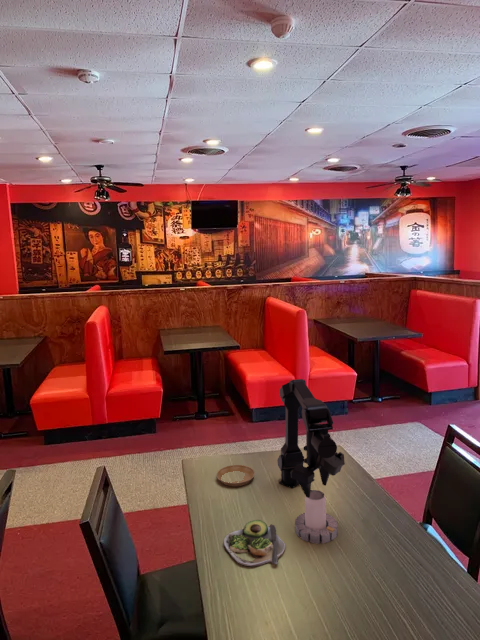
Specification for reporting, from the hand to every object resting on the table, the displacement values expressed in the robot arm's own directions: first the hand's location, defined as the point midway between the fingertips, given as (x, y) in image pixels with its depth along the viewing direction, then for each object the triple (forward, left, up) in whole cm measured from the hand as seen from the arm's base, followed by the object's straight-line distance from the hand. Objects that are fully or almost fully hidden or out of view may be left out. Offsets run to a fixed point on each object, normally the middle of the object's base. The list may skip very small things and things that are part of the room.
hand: (316, 490), depth 144 cm
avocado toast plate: (-10, -19, -13) cm, 25 cm away
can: (0, -1, -13) cm, 13 cm away
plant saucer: (-42, +7, -13) cm, 44 cm away
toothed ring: (0, -1, -13) cm, 13 cm away
